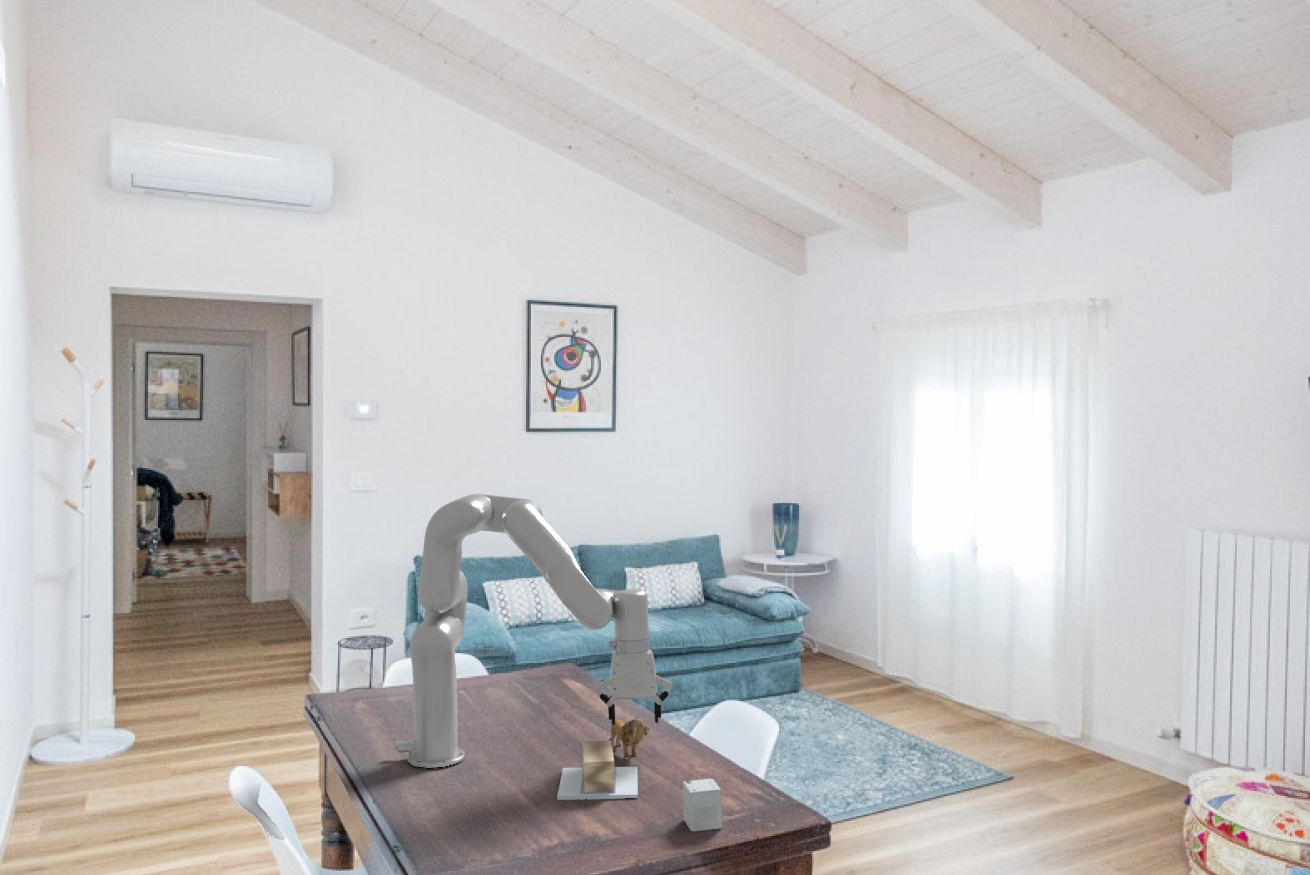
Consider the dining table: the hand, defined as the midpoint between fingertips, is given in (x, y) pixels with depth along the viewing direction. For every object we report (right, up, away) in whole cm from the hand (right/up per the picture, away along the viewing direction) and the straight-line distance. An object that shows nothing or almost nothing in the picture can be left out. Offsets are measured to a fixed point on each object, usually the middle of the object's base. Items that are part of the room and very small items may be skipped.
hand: (635, 721), depth 220 cm
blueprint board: (-7, -8, -16) cm, 19 cm away
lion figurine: (-2, -8, +3) cm, 9 cm away
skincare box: (+13, -9, -37) cm, 40 cm away
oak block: (-7, -7, -16) cm, 19 cm away
